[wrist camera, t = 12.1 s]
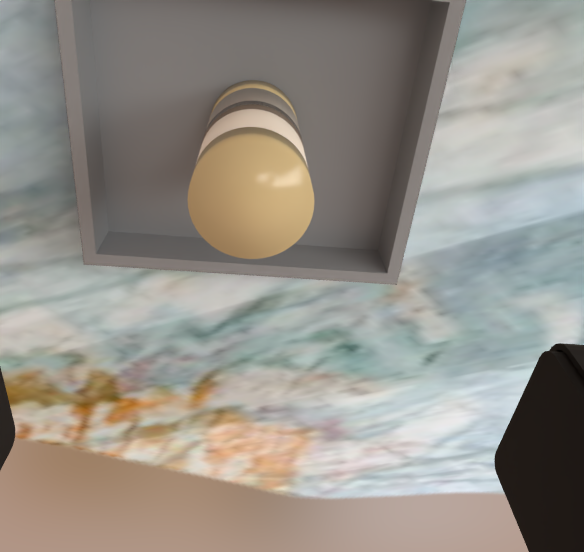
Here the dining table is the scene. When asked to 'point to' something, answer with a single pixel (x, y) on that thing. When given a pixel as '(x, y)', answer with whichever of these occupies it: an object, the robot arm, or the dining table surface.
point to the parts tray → (272, 69)
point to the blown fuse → (251, 174)
